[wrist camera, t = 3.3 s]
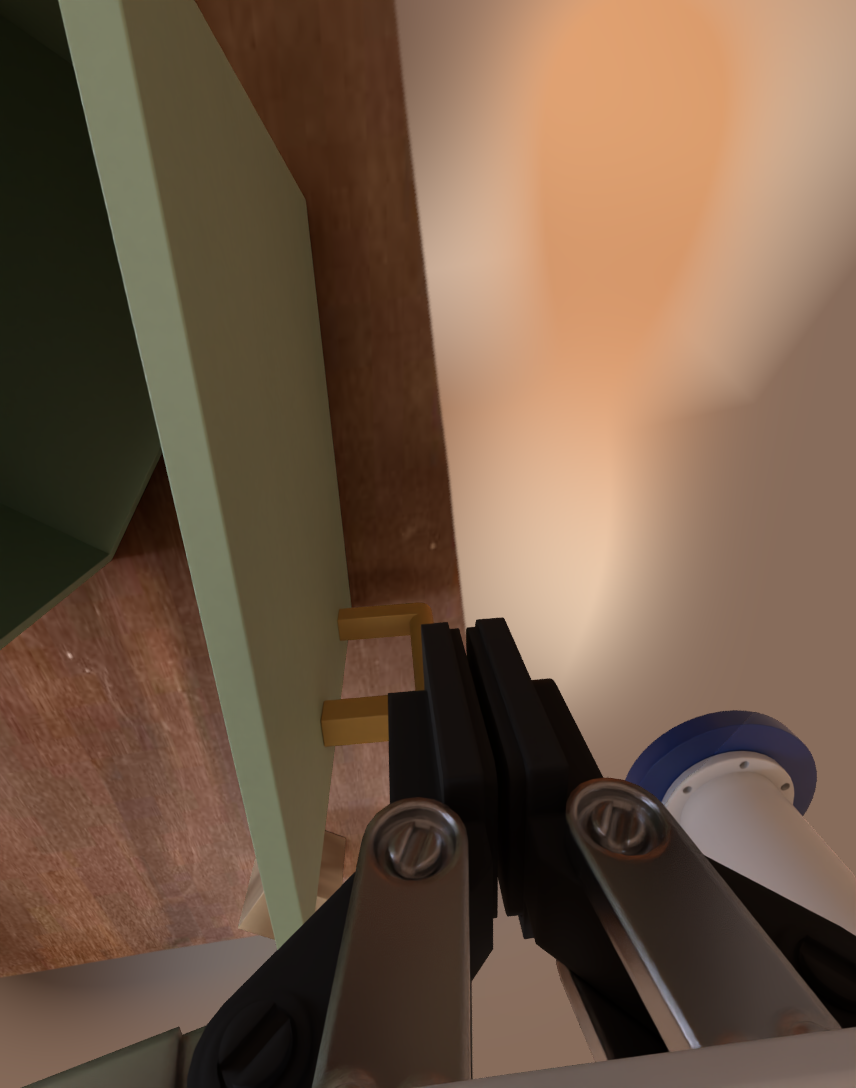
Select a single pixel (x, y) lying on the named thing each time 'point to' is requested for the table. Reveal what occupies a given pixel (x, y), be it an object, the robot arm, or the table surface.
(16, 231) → the cupboard
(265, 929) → the block
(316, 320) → the cupboard door
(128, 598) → the table surface
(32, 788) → the table surface
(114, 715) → the table surface
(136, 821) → the table surface
